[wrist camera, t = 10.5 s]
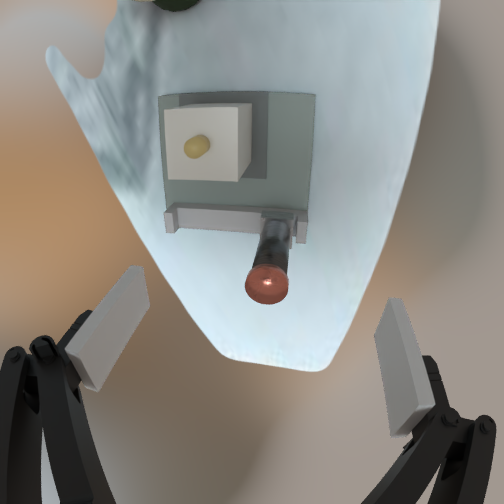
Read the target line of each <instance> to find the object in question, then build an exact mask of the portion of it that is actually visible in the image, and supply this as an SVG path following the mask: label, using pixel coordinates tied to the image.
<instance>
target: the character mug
mask: <svg viewBox="0 0 504 504" xmlns="http://www.w3.org/2000/svg"><path fill="white" fill-rule="evenodd" d="M134 1H138V2H145V1H152V2H153V3H155V4H156V5H157V6H159V7H160V8H161V9H164V10H169V11H173V12H174V11H179V10H185V9H187V8H189V7H190V6H192V5H194V4H195V3H197V2H198V1H199V0H134Z"/></svg>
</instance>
